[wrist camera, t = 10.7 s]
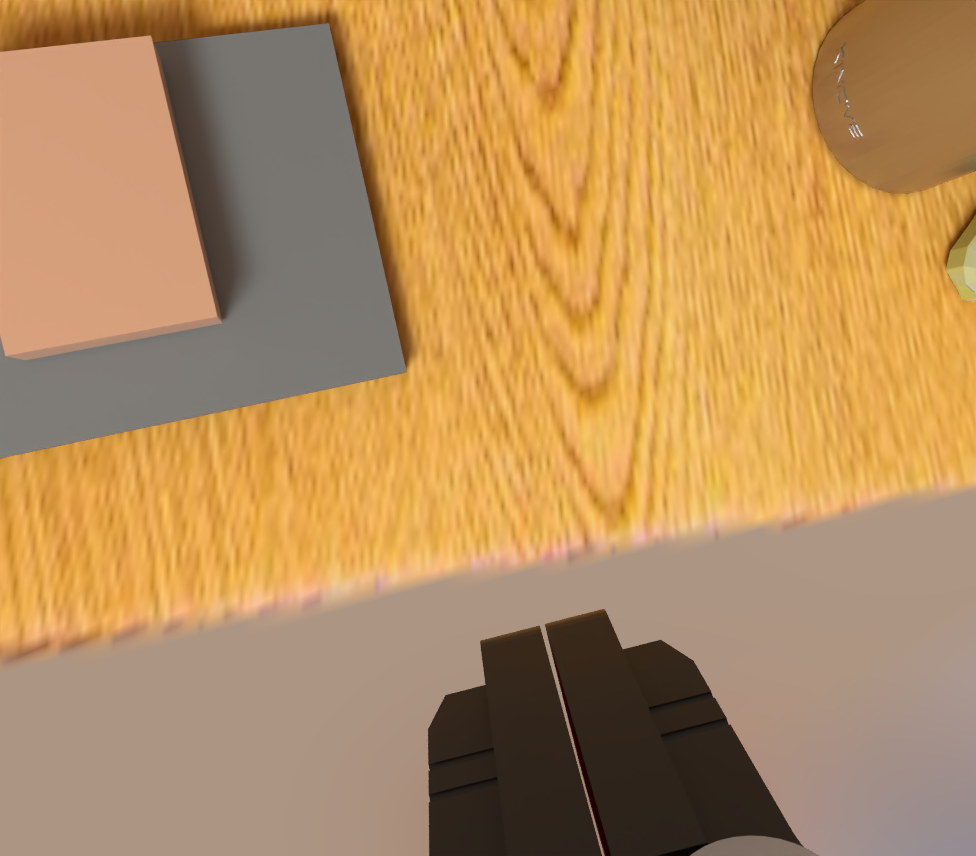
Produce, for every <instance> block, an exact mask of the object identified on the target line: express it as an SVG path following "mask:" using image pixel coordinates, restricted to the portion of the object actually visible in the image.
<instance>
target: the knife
mask: <svg viewBox="0 0 976 856" xmlns="http://www.w3.org/2000/svg"><path fill="white" fill-rule="evenodd" d="M946 271H947V273H948V275H949V277H950V278H951V280H952V282H953V284H954V286H955V288H956V289H957V291H958V293H959V295H960V297H961V299H962V300H966V301H973V302H976V215H975V216H974V218H973V219H972V221H971V222H970V224H969V225H968V227H967V228H966V229H965V231H964V232H963V234H962V235H961V236H960V238H959V239H958V241H957V242H956V243H955V245H954V246H953V248H952V249H951V250H950V254H949V258H948V262H947V267H946Z"/></svg>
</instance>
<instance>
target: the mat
mask: <svg viewBox="0 0 976 856" xmlns="http://www.w3.org/2000/svg"><path fill="white" fill-rule="evenodd" d="M154 44H155V47H156V49H157V52H158V54H159V57H160V59H161V63H162V67H163V71H164V76H165V80H166V84H167V88H168V93H169V97H170V101H171V105H172V110H173V114H174V118H175V122H176V127H177V131H178V135H179V139H180V143H181V148H182V152H183V156H184V160H185V165H186V169H187V173H188V177H189V182H190V186H191V190H192V194H193V199H194V203H195V207H196V211H197V215H198V220H199V224H200V228H201V232H202V237H203V241H204V245H205V249H206V254H207V258H208V262H209V266H210V271H211V275H212V279H213V283H214V287H215V292H216V296H217V300H218V304H219V309H220V313H221V317H222V321H223V323H222V324H216V325H211V326H206V327H200V328H195V329H190V330H184V331H179V332H174V333H168V334H163V335H158V336H152V337H147V338H142V339H136V340H131V341H126V342H120V343H115V344H110V345H104V346H99V347H94V348H88V349H83V350H78V351H73V352H67V353H62V354H57V355H51V356H46V357H41V358H35V359H30V360H22V359H17V358H12V357H8V356H5V352H4V348H3V344H2V341H1V337H0V458H4V457H9V456H13V455H18V454H23V453H28V452H32V451H37V450H42V449H47V448H51V447H56V446H61V445H65V444H70V443H75V442H80V441H84V440H89V439H94V438H99V437H103V436H108V435H113V434H118V433H122V432H127V431H132V430H137V429H141V428H146V427H151V426H155V425H160V424H165V423H170V422H174V421H179V420H184V419H189V418H193V417H198V416H203V415H208V414H212V413H217V412H222V411H227V410H231V409H236V408H241V407H245V406H250V405H255V404H260V403H264V402H269V401H274V400H279V399H283V398H288V397H293V396H298V395H302V394H307V393H312V392H317V391H321V390H326V389H331V388H335V387H340V386H345V385H350V384H354V383H359V382H364V381H369V380H373V379H378V378H383V377H388V376H392V375H397V374H402V373H405V372H407V371H406V366H405V362H404V357H403V353H402V349H401V344H400V340H399V335H398V331H397V326H396V322H395V317H394V313H393V308H392V304H391V299H390V295H389V290H388V286H387V281H386V277H385V272H384V268H383V263H382V259H381V254H380V250H379V246H378V241H377V237H376V232H375V228H374V223H373V219H372V214H371V210H370V205H369V201H368V196H367V192H366V187H365V183H364V178H363V174H362V169H361V165H360V160H359V156H358V151H357V147H356V142H355V138H354V134H353V129H352V125H351V120H350V116H349V111H348V107H347V102H346V98H345V93H344V89H343V84H342V80H341V75H340V71H339V66H338V62H337V57H336V53H335V48H334V44H333V39H332V35H331V31H330V26H329V23H327V24H318V25H309V26H300V27H291V28H282V29H273V30H264V31H255V32H246V33H237V34H228V35H219V36H210V37H201V38H192V39H183V40H174V41H165V42H157V43H154Z"/></svg>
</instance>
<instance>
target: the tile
mask: <svg viewBox="0 0 976 856" xmlns="http://www.w3.org/2000/svg"><path fill="white" fill-rule="evenodd" d="M222 323H223V321H222V317H221V313H220V309H219V304H218V300H217V296H216V292H215V287H214V283H213V279H212V275H211V271H210V266H209V262H208V258H207V254H206V249H205V245H204V241H203V237H202V232H201V228H200V224H199V220H198V215H197V211H196V207H195V203H194V199H193V194H192V190H191V186H190V182H189V177H188V173H187V169H186V165H185V160H184V156H183V152H182V148H181V143H180V139H179V135H178V131H177V127H176V122H175V118H174V114H173V110H172V105H171V101H170V97H169V93H168V88H167V84H166V80H165V76H164V71H163V67H162V63H161V59H160V57H159V54H158V52H157V49H156V47H155V44H154V42H153V39H152V37H151V36H141V37H132V38H123V39H114V40H105V41H96V42H87V43H78V44H69V45H59V46H50V47H41V48H32V49H23V50H14V51H5V52H0V337H1V341H2V344H3V348H4V352H5V356H8V357H12V358H17V359H22V360H30V359H35V358H41V357H46V356H51V355H57V354H62V353H67V352H73V351H78V350H83V349H88V348H94V347H99V346H104V345H110V344H115V343H120V342H126V341H131V340H136V339H142V338H147V337H152V336H158V335H163V334H168V333H174V332H179V331H184V330H190V329H195V328H200V327H206V326H211V325H216V324H222Z"/></svg>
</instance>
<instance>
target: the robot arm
mask: <svg viewBox="0 0 976 856" xmlns="http://www.w3.org/2000/svg"><path fill="white" fill-rule="evenodd" d="M812 92H813V102H814V111H815V114H816V118H817V121H818V125H819V129H820V131H821V133H822V135H823V137H824V139H825V141H826V143H827V145H828V148H829V149H830V151H831V152H832V153H833V155H834V156H835V157H836V159H837V160H838V161H839V163H840V164H841V165H842V166H843V167H844V168H845V169H846V170H847V171H848V172H850V173H851V174H852V175H853V176H854V177H855V178H856V179H858V180H860V181H862V182H864V183H865V184H867V185H869V186H871V187H872V188H876V189H879V190H882V191H886V192H889V193H905V194H908V193H913V192H918V191H923V190H926V189H929V188H931V187H934V186H937V185H939V184H942V183H945V182H948V181H950V180H953V179H956V178H958V177H961V176H964V175H966V174H969V173H972V172H975V171H976V0H864V1H863V2H862V3H860V4H859V5H858V6H856V7H855V8H854V9H852V10H851V11H850V12H849V13H847V14H846V15H845V16H843V17H842V18H841V19H840V20H839V21H838V22H837V23H836V24H835V26H834V27H833V28H832V29H831V30H830V31H829V33H828V35H827V37H826V38H825V40H824V42H823V44H822V46H821V48H820V50H819V53H818V57H817V60H816V64H815V67H814V75H813V86H812ZM545 627H546V631H547V635H548V640H549V644H550V648H551V652H552V655H553V660H554V664H555V668H556V672H557V676H558V679H559V684H560V688H561V692H562V696H563V700H564V704H565V708H566V712H567V716H568V720H569V724H570V728H571V732H572V736H573V740H574V744H575V748H576V752H577V756H578V759H579V763H580V767H581V771H582V775H583V778H584V782H585V786H586V789H587V793H588V797H589V800H590V804H591V808H592V811H593V815H594V819H595V822H596V826H597V830H598V833H599V837H600V841H601V844H602V848H603V851H604V855H605V856H818V855H817V854H815V853H814V852H812V851H810V850H808V849H806V848H804V847H803V846H802V845H801V843H800V842H799V840H798V839H797V838H796V836H795V835H794V833H793V832H792V830H791V828H790V827H789V825H788V823H787V821H786V820H785V818H784V816H783V815H782V813H781V811H780V809H779V808H778V806H777V804H776V802H775V801H774V799H773V797H772V795H771V794H770V792H769V790H768V789H767V787H766V785H765V783H764V782H763V780H762V778H761V776H760V775H759V773H758V771H757V770H756V768H755V766H754V764H753V763H752V761H751V759H750V758H749V756H748V754H747V752H746V751H745V749H744V747H743V745H742V744H741V742H740V740H739V739H738V737H737V735H736V733H735V732H734V730H733V728H732V727H731V725H728V722H727V719H726V716H725V715H724V713H723V711H722V709H721V708H720V706H719V704H718V702H717V701H716V699H715V698H713V696H712V693H711V690H710V689H709V687H708V685H707V684H706V682H705V680H704V678H703V677H702V675H701V673H700V671H699V670H698V668H697V666H696V664H695V663H694V661H693V660H691V659H690V658H688V657H687V656H685V655H684V654H682V653H681V652H679V651H677V650H676V649H674V648H673V647H671V646H670V645H668V644H667V643H665V642H663V641H662V640H658V641H654V642H650V643H647V644H643V645H639V646H635V647H631V648H627V649H622V647H621V645H620V642H619V640H618V638H617V635H616V633H615V631H614V629H613V627H612V624H611V622H610V620H609V617H608V615H607V613H606V611H605V610H604V609H602V610H598V611H594V612H590V613H586V614H582V615H578V616H574V617H570V618H566V619H563V620H559V621H555V622H551V623H547V624H545ZM480 643H481V652H482V660H483V668H484V676H485V684H486V685H484V686H480V687H476V688H472V689H468V690H465V691H460V692H457V693H452V694H448V695H446V696H445V698H444V700H443V702H442V703H441V705H440V707H439V709H438V711H437V713H436V715H435V717H434V719H433V721H432V723H431V725H430V727H429V728H428V759H429V762H428V763H429V769H430V771H429V797H430V802H429V856H602V854H601V850H600V846H599V843H598V839H597V835H596V832H595V828H594V825H593V821H592V817H591V814H590V810H589V806H588V802H587V798H586V795H585V791H584V787H583V784H582V780H581V776H580V773H579V769H578V765H577V762H576V758H575V754H574V750H573V747H572V743H571V739H570V736H569V732H568V728H567V725H566V721H565V717H564V714H563V710H562V706H561V702H560V699H559V695H558V691H557V688H556V684H555V680H554V677H553V673H552V669H551V666H550V662H549V658H548V654H547V651H546V647H545V643H544V640H543V636H542V632H541V629H540V626H536V627H532V628H528V629H525V630H520V631H517V632H513V633H509V634H505V635H501V636H497V637H494V638H489V639H485V640H481V642H480Z"/></svg>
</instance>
